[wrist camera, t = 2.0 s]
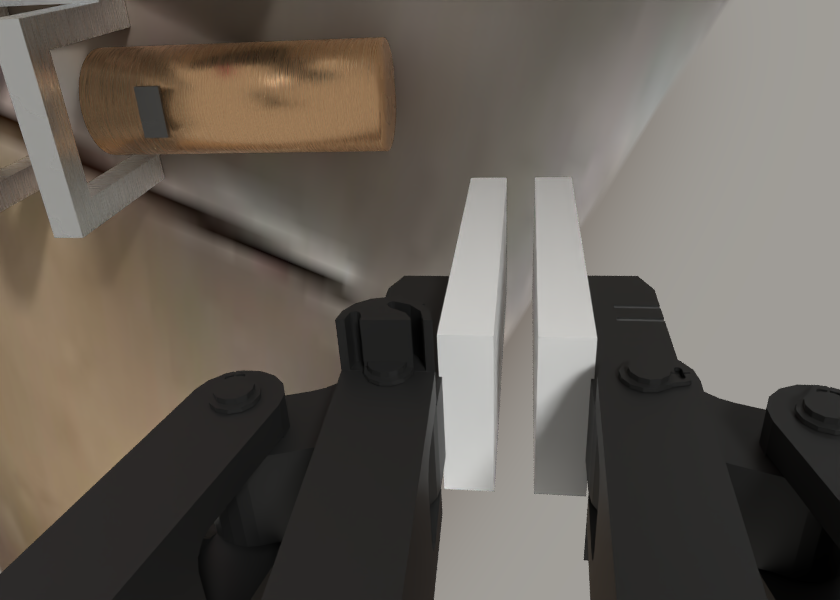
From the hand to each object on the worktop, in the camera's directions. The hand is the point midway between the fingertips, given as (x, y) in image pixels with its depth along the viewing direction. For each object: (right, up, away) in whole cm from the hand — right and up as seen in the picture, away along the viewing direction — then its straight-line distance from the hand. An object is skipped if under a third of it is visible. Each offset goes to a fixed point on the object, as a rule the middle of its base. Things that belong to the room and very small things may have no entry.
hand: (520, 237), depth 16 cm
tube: (-9, +8, +16) cm, 20 cm away
